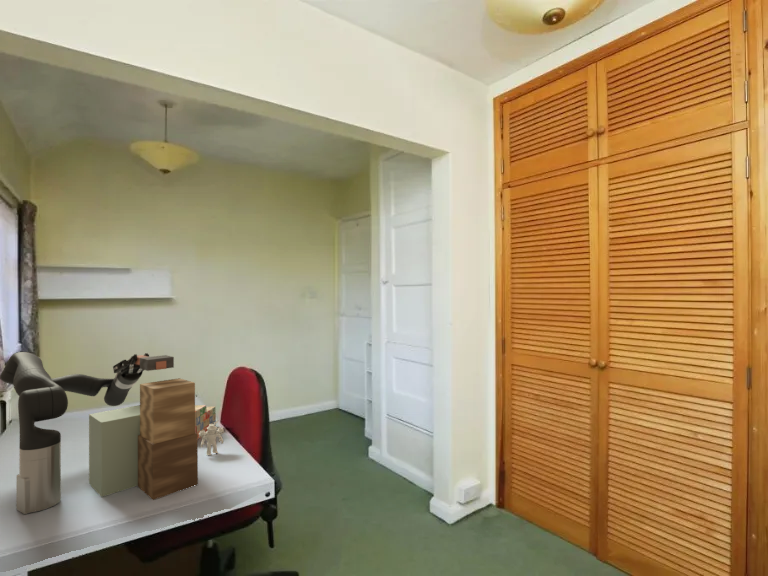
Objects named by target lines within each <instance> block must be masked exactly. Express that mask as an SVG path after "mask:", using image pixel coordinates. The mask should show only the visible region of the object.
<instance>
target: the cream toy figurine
mask: <svg viewBox="0 0 768 576" xmlns="http://www.w3.org/2000/svg"><path fill="white" fill-rule="evenodd" d="M218 422H219V420H218V419H216V422H214V424H209V426H208V427H207V429H208V430H207V432H206V433H205V431H200V433H199V436H201V437H199V439H202V440H201V443H200V448H203V445H204V446H205V445H206V448H207V449H206V453H205V455H206V454H207V455H211V456H212V452H213V453H218V454H219V452H218V446H217V438H218V439H219V440H218V443H220V442H221V444H223V443H224V439H223V437H222V435H223V434H224V433H225V432H224V427H221V426H219V427H217V424H218ZM215 425H216V427H215ZM205 442H207V443H205ZM207 455H206V456H207Z"/></svg>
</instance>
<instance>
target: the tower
mask: <svg viewBox="0 0 768 576" xmlns="http://www.w3.org/2000/svg"><path fill="white" fill-rule="evenodd" d="M139 405H140V435H138V486H137V488H139V489H140V490H141V491H142V492H143V493H144V494H146V495H147V496H148V497H149V498H150V499H151V500H152V501H154V500H158V499H160V498H164V497H166V496H169V495H172V494H175V493H178V492H181V491H184V490H187V489H190V488H192V487H191V486H193V487H195V486H194V485H196V486H198V485H199V483H198V481H199V475H198V474H199V471H198V469H199V467H198V466H199V465H198V461H199V460H198V459H199V457H198V450H199V449H198V446H199V445H198V444H199V441H198V440H199V439H198V435H197V433H195V405H196V382H195V381H190V380H186V379H183V378H181V377H180V378H172V379H164V380H159V381H153V382H151V381H150V382H145V383H140V384H139ZM197 484H198V485H197ZM189 487H190V488H189ZM186 488H187V489H186ZM183 489H184V490H183ZM180 490H181V491H180Z"/></svg>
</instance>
